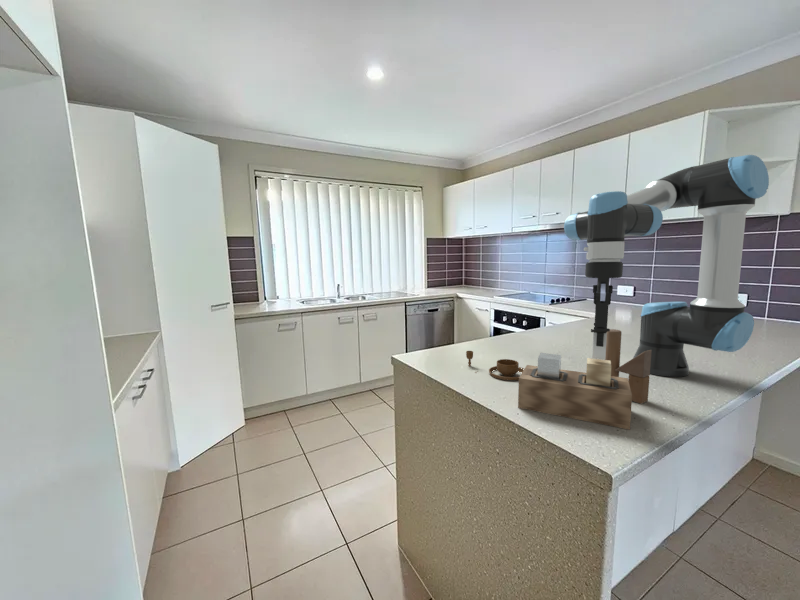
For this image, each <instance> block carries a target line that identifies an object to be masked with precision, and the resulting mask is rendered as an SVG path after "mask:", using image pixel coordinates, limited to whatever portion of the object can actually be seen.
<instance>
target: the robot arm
mask: <svg viewBox="0 0 800 600" xmlns="http://www.w3.org/2000/svg"><path fill="white" fill-rule="evenodd" d="M769 179H770V178H769V171H768V168H767V166H766V164H765V162H764V160H762V159H761V158H760V157H759V156H757V155H754V154H747V155H746V154H745V155H738V156H732V157H728V158H724V159H720V160H717V161H711V162H708V163H703V164H699V165H693V166H690V167H685V168H683V169H680V170H678V171H675V172H673V173H670V174H668V175H666V176H663V177H661V178H659V179H656V180H653V181H652V182H650V183H649V184H647V185H646V187H644V188H643V189H640V190H638V191H636V192H633V193H630V194H627V193H626V192H624V191H619V190H616V191H614V190H613V191H605V192H600V193H599V192H598V193H595V194H593V195H592V196H591V197H590V198H589V202H588V203H589V204H588V210H587V211H583V212H580V211H578V212H577V213H572V214H570V215H569V216H567V218H566V219H565V221H564V224H563V229H564V235H565V236H566V237H567V238H568V239H569V240H573V241H574V240H575V241H576V240H577V241H583V240H586V245H587V246H584V248H583V251H584V252H586V257H585V259H586V260H588V261H587V262H586V263H585V269H584V270H585V272H584V273H585V275H584V276H585V277H586V278H589V279H597V282H596V284H593V285H592V293H593V304H594V306H595V308H594V309H595V310H594V313H595V314H594V323H593V325H594V326H593V329H590V333H593V337H592V338H593V341H592V359H601V360H605V356H606V339H607V331H609V332H610V329H611V328H608V319H609V317H608V316H609V306H610V305H611V303H612V302H611V300H612V294H613V290H614V289H613V287H614V286H613V285H611V284H610V279H620V278H622V277H623V273H624V271H623V269H624V263H623V261H621V260H623V259H624V258H625V237H644V236H645V237H646V236H650V235H653V234H654V233H656V232H657V231H658V230H659V229H660V228H661V226H662V225H663V219H664V217H663V213H662V212H665V211H667V210H670V209H678V208H688V207H689V208H690V207H697V212H698V213H700V214H701V215H702V216H703V223H702V236H701V237H702V238H701V249H700V250H701V251H700V258H699V259H700V261H699V270H698V271H699V274H698V285H697V295H696V296H697V297H696V298H694V299H693V300H692V301H690V303H689V305H688V303H687V301H660V302H659V301H658V302H655V301H654V302H647V303H645V304H643V306H642V307H641V309H642V310H641V314H640V328H639V329H640V331H639V345H638V347H637V349H636V352H635V353H634V355H633V357H632V359H633V358H635V357H636V356H638V355H640V354H641V353H643V352H645V351H648V350H652V351H651V365H650V375H656V376H662V377H673V378H675V377H676V378H679V377H681V378H682V377H686V376H688V375H689V372H690V366H689V364H688V360H687V357H686V355H685V351H684V345H689V346H694V347H700V348H705V349H710V350H713V351H716V352H717V351H721V352H728V353H734V352H737V351H740V350H741V349H742V348H743V347H744V346H746V344H747V343H748V342H749V340H750V338H751V336H752V334H753V331H754V326H755V321H754V316H753V315H752V314H750V313H749V312H746V311H745V306H746V305H745V304H743V302H741V301H740V300H739V299H738V298H739V290H740V289H739V288H740V281H741V279H740V277H741V268H742V260H743V259H742V257H743V248H744V237H745V230H746V229H745V228H746V218H747V217H746V215H747V212H748V211H750V210H752V209H753V208H754V207H755V206H756V199H760V198H763V197H764V196H765V195H766V193H767V190H768V189H769V183H770V180H769Z"/></svg>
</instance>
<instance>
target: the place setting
mask: <svg viewBox="0 0 800 600" xmlns="http://www.w3.org/2000/svg"><path fill="white" fill-rule="evenodd" d="M465 355H466V356H465V357H466V359H467V360H468V362H467V363H468V365H467V366H468V367H472V362H471V361H472V360H473V358H474V351H472V350H466V352H465ZM521 368H522V369H521ZM496 369H497V370H496ZM523 369H525V367H521V366H519V361H517V360H514V359H509V358H507V359H506V358H504V359H503V358H502V359H498V360H497V361H496V365H495V366H491V367H490V368H489V369H488V372H489V375H490V376H491V377H492V376H493V377H492V378H494V379H497V380H501V379H502V381H508V380H516V381H519V377H520V376H514V375H516V374H517V373H519V372H523ZM493 370H496V371H497V372H498V373H500V374H502V375H499V374H496V373H493V372H494V371H493ZM492 371H493V372H492ZM518 371H519V372H518ZM477 372H479V371H475V372H474V373H475V374H477ZM491 372H492V373H491ZM503 375H504V376H503Z"/></svg>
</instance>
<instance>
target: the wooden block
mask: <svg viewBox="0 0 800 600" xmlns="http://www.w3.org/2000/svg"><path fill="white" fill-rule="evenodd" d="M609 329H610V332H609V331H607V339H606V356H605V360H609V361H611V376H614V377H620V373H623V374H627V375H628V382H629V385H630V389H631V393H632V402H634V403H637V404H641V405H642V404H644V403H647V402H648V401H649V390H650V389H649V388H650V375H651V374H650V365H651V351H652V350H648V351H645V352H643V353H641V354H640V355H638V356H636V357H635V358H633V357H632V358H631V359H630V360H629V361H626V362H625V363H624V364H622V365H621V366H620V364H621V348H622V330H620V329H616V328H615V329H614V328H609Z"/></svg>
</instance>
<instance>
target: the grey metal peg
mask: <svg viewBox="0 0 800 600" xmlns="http://www.w3.org/2000/svg"><path fill="white" fill-rule="evenodd" d="M561 365H562V354H557V353H555V354H554V353H547V352H546V353H545V352H540V354H539V355H538V357H537V366H538V376H541V377H548V378H555V379H560V373H561V369H562V366H561Z"/></svg>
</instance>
